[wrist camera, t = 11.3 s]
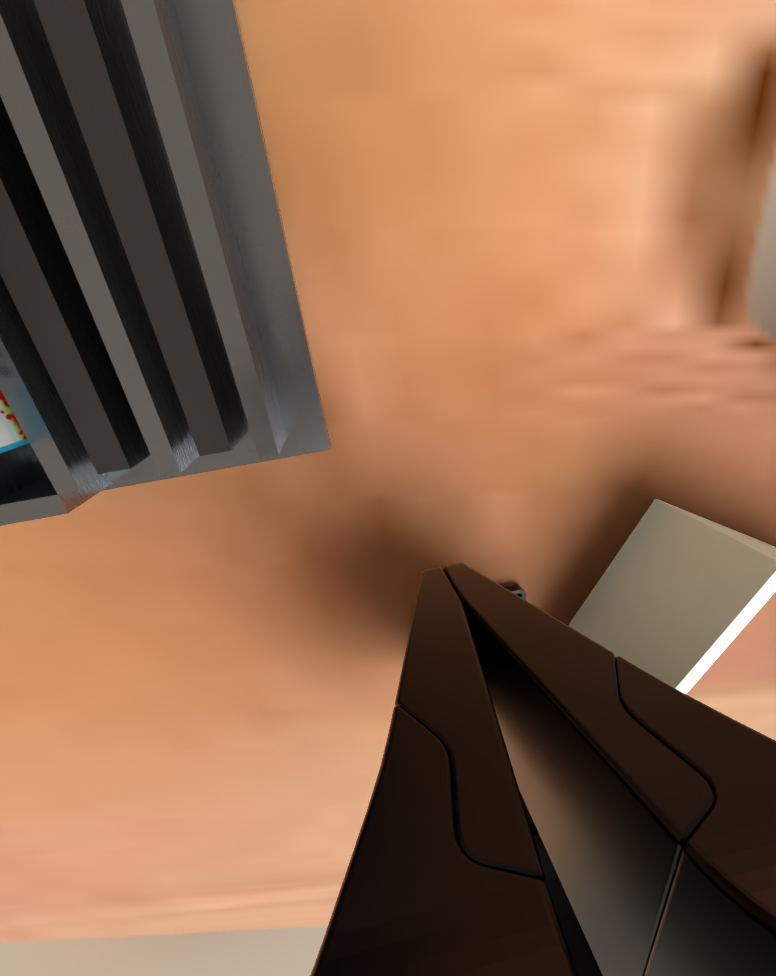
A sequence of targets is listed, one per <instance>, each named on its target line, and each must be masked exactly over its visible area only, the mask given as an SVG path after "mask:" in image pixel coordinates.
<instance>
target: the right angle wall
mask: <svg viewBox="0 0 776 976" xmlns="http://www.w3.org/2000/svg"><path fill="white" fill-rule="evenodd" d="M775 592H776V547H775V546H772V545H770V544H767V543H765V542H762V541H760V540H758V539H755V538H753V537H750V536H748V535H745V534H743V533H740V532H738V531H735V530H733V529H730V528H728V527H725V526H723V525H720V524H718V523H715V522H713V521H710V520H708V519H705V518H703V517H701V516H698V515H696V514H693V513H691V512H688V511H686V510H683V509H681V508H678V507H676V506H673V505H671V504H668V503H666V502H663V501H661V500H658V499H656V498H655V499H654V501H653V502H652V504H651V505H650V507H649V508H648V510H647V511H646V513H645V514H644V516H643V517H642V518H641V520H640V521H639V523H638V524H637V526H636V527H635V529H634V530H633V532H632V533H631V534H630V536H629V537H628V539H627V540H626V542H625V543H624V545H623V546H622V548H621V549H620V551H619V552H618V553H617V555H616V556H615V558H614V559H613V561H612V562H611V564H610V565H609V567H608V568H607V569H606V571H605V572H604V574H603V575H602V577H601V578H600V580H599V581H598V583H597V584H596V586H595V587H594V588H593V590H592V591H591V593H590V594H589V596H588V597H587V599H586V600H585V602H584V603H583V604H582V606H581V607H580V609H579V610H578V612H577V613H576V615H575V616H574V618H573V619H572V621H571V622H570V623H569V625H568V626H569V627H571V628H573V629H575V630H576V631H578V632H580V633H581V634H583V635H585V636H586V637H588V638H590V639H591V640H593V641H595V642H596V643H598V644H600V645H601V646H603V647H605V648H606V649H608V650H610V651H611V652H613V653H614V654H615V658H616V657H617V656H620V657H622V658H623V659H625V660H627V661H629V662H630V663H632V664H634V665H635V666H637V667H639V668H640V669H642V670H644V671H645V672H647V673H649V674H651V675H652V676H654V677H656V678H658V679H659V680H661V681H663V682H665V683H666V684H668V685H670V686H672V687H673V688H675V689H677V690H679V691H680V692H682V693H684V694H687V693H688V691H689V690H690V689H691V688H692V687H693V686H694V685H695V683H696V682H697V681H698V680H699V679H700V678H701V677H702V675H703V674H704V673H705V672H706V671H707V670H708V669H709V667H710V666H711V665H712V664H713V663H714V662H715V660H716V659H717V658H718V657H719V656H720V655H721V654H722V652H723V651H724V650H725V649H726V648H727V647H728V646H729V644H730V643H731V642H732V641H733V640H734V639H735V638H736V636H737V635H738V634H739V633H740V632H741V631H742V630H743V628H744V627H745V626H746V625H747V624H748V623H749V621H750V620H751V619H752V618H753V617H754V616H755V615H756V613H757V612H758V611H759V610H760V609H761V608H762V607H763V605H764V604H765V603H766V602H767V601H768V600H769V599H770V597H771V596H772V595H773V594H774V593H775Z"/></svg>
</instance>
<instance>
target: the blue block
mask: <svg viewBox="0 0 776 976" xmlns="http://www.w3.org/2000/svg"><path fill="white" fill-rule="evenodd" d="M28 443H29V441H28V439H27V437H26V436H25V434H24V432H23V430H22V428H21V426H20V425H19V423H18V421H17V419H16V417H15V415H14V414H13V412H12V410H11V408H10V406H9V404H8V403H7V401H6V399H5V397H4V395H3V393H2V392H1V390H0V453H3V452H6V451H8V450H11V449H14V448H17V447H19V446H22V445H25V444H28Z"/></svg>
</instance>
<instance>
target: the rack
mask: <svg viewBox="0 0 776 976" xmlns="http://www.w3.org/2000/svg"><path fill="white" fill-rule="evenodd" d="M0 390H1V392H2V393H3V395H4V397H5V399H6V401H7V403H8V404H9V406H10V408H11V410H12V412H13V414H14V415H15V417H16V419H17V421H18V423H19V425H20V426H21V428H22V430H23V432H24V434H25V436H26V437H27V439H28V441H29V443H28V444H25V445H22V446H19V447H17V448H14V449H11V450H8V451H6V452H3V453H0V526H1V525H6V524H12V523H17V522H23V521H28V520H34V519H39V518H45V517H50V516H56V515H61V514H67V513H69V512H70V511H72V510H73V509H75V508H76V507H78V506H79V505H81V504H82V503H84V502H85V501H87V500H88V499H90V498H91V497H93V496H94V495H96V494H97V493H99V492H100V491H101V490H107V489H112V488H118V487H123V486H129V485H135V484H140V483H146V482H151V481H157V480H162V479H168V478H173V477H179V476H185V475H190V474H196V473H201V472H207V471H212V470H218V469H223V468H229V467H234V466H240V465H246V464H251V463H257V462H262V461H268V460H273V459H279V458H284V457H290V456H296V455H301V454H307V453H312V452H318V451H323V450H329V449H330V447H331V446H330V441H329V436H328V432H327V427H326V423H325V418H324V413H323V409H322V404H321V399H320V395H319V390H318V386H317V381H316V376H315V372H314V367H313V363H312V358H311V353H310V349H309V344H308V340H307V335H306V330H305V326H304V321H303V317H302V312H301V307H300V303H299V298H298V293H297V289H296V284H295V280H294V275H293V270H292V266H291V261H290V257H289V252H288V247H287V243H286V238H285V234H284V229H283V224H282V220H281V215H280V210H279V206H278V201H277V197H276V192H275V187H274V183H273V178H272V174H271V169H270V164H269V160H268V155H267V151H266V146H265V141H264V137H263V132H262V128H261V123H260V118H259V114H258V109H257V104H256V100H255V95H254V91H253V86H252V81H251V77H250V72H249V68H248V63H247V58H246V54H245V49H244V45H243V40H242V35H241V31H240V26H239V21H238V17H237V12H236V8H235V3H234V0H0Z"/></svg>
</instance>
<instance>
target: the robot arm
mask: <svg viewBox="0 0 776 976" xmlns="http://www.w3.org/2000/svg"><path fill="white" fill-rule="evenodd" d="M517 593H519V594H518V595H516V594H517ZM395 705H396V706H395V707H394V710H393V715H392V720H391V724H390V729H389V734H388V738H387V742H386V746H385V750H384V754H383V759H382V763H381V767H380V770H379V773H378V777H377V780H376V783H375V786H374V790H373V793H372V796H371V800H370V803H369V806H368V809H367V812H366V815H365V818H364V821H363V824H362V827H361V830H360V833H359V836H358V839H357V842H356V845H355V848H354V851H353V854H352V857H351V860H350V863H349V866H348V869H347V872H346V875H345V878H344V881H343V883H342V886H341V889H340V892H339V895H338V898H337V901H336V904H335V907H334V910H333V913H332V916H331V919H330V922H329V925H328V928H327V931H326V934H325V937H324V940H323V943H322V945H321V948H320V951H319V954H318V957H317V959H316V962H315V965H314V967H313V970H312V972H311V975H310V976H776V741H775V740H773V739H771V738H769V737H767V736H765V735H763V734H761V733H759V732H757V731H755V730H753V729H751V728H749V727H747V726H745V725H743V724H741V723H739V722H737V721H735V720H733V719H732V718H730V717H728V716H726V715H724V714H722V713H720V712H718V711H716V710H714V709H713V708H711V707H709V706H707V705H705V704H703V703H701V702H699V701H697V700H695V699H693V698H692V697H690V696H688V695H686V694H684V693H682V692H680V691H679V690H677V689H675V688H673V687H672V686H670V685H668V684H666V683H665V682H663V681H661V680H659V679H658V678H656V677H654V676H652V675H651V674H649V673H647V672H645V671H644V670H642V669H640V668H639V667H637V666H635V665H634V664H632V663H630V662H629V661H627V660H625V659H623V658H622V657H620V656H617V657H616V658H615V654H614V653H613V652H611V651H610V650H608V649H606V648H605V647H603V646H601V645H600V644H598V643H596V642H595V641H593V640H591V639H590V638H588V637H586V636H585V635H583V634H581V633H580V632H578V631H576V630H575V629H573V628H571V627H569V626H568V625H566V624H564V623H563V622H561V621H559V620H558V619H556V618H554V617H553V616H551V615H549V614H548V613H546V612H544V611H543V610H541V609H539V608H538V607H536V606H534V605H533V604H531V603H529V602H528V601H526V593H525V591H524V590H523V589H522V588H521V587H520V586H513V587H508V588H504V587H502V586H501V585H499V584H497V583H496V582H494V581H492V580H491V579H489V578H487V577H486V576H484V575H482V574H481V573H479V572H477V571H476V570H474V569H472V568H471V567H469V566H467V565H466V564H464V563H456V564H451V565H446V566H444V567H443V569H442V568H441V567H436V568H431V569H426V570H423V571H422V573H421V578H420V583H419V588H418V593H417V598H416V603H415V608H414V612H413V617H412V622H411V627H410V632H409V637H408V642H407V647H406V652H405V657H404V662H403V667H402V672H401V677H400V682H399V687H398V691H397V696H396V701H395Z"/></svg>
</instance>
